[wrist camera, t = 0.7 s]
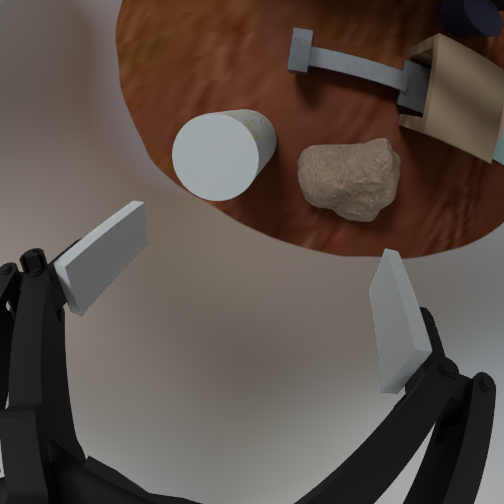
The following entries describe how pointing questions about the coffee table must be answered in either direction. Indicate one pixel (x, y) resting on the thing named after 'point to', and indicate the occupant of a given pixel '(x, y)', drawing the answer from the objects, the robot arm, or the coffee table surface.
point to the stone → (350, 177)
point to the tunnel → (459, 97)
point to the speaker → (472, 17)
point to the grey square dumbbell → (361, 69)
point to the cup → (223, 152)
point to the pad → (499, 150)
